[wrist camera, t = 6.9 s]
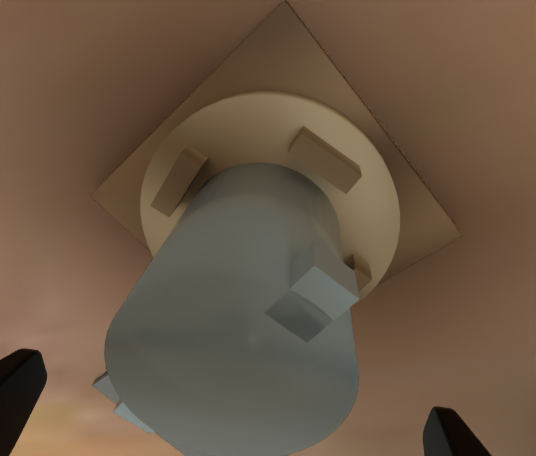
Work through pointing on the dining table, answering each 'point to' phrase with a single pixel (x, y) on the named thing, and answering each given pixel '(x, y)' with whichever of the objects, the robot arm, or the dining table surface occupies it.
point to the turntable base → (305, 84)
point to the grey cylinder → (241, 321)
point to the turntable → (285, 154)
